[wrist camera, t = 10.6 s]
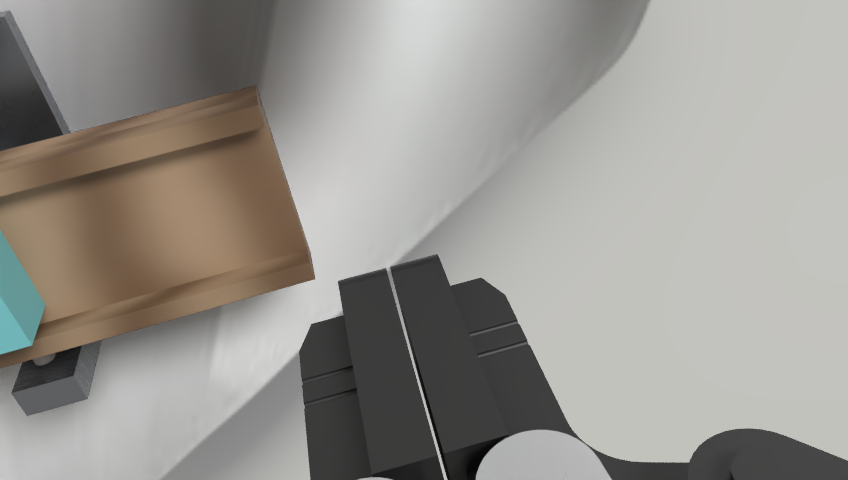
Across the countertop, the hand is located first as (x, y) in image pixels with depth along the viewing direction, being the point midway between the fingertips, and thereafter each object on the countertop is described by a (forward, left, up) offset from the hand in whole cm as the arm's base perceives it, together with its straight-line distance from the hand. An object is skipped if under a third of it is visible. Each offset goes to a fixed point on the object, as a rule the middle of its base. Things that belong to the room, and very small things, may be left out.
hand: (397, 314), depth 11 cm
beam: (+17, +9, -23) cm, 30 cm away
